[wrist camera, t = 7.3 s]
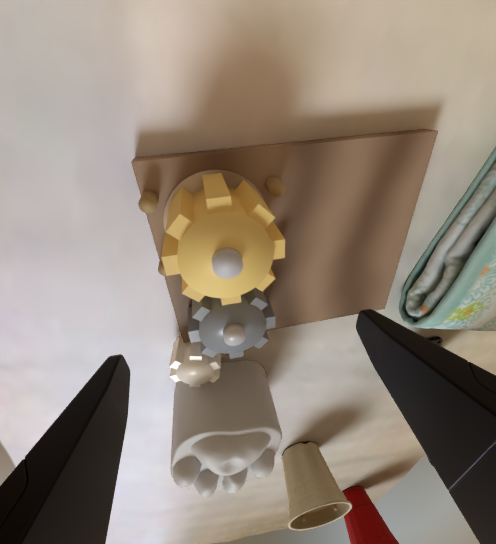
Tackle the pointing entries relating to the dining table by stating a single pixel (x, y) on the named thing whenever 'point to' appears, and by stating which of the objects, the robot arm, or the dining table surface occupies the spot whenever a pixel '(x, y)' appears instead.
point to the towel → (459, 265)
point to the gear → (230, 324)
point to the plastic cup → (365, 520)
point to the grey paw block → (224, 430)
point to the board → (309, 215)
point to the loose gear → (221, 241)
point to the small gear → (193, 364)
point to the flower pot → (311, 488)
